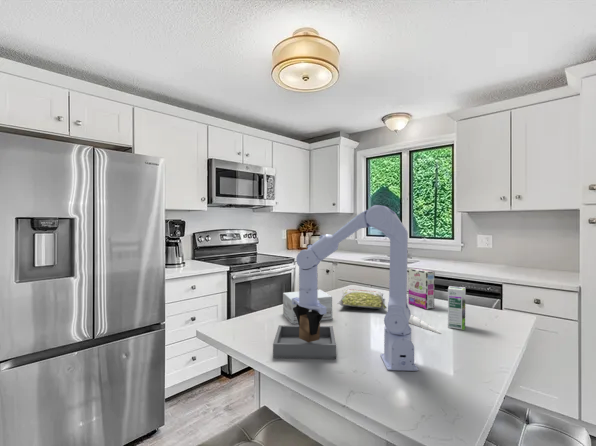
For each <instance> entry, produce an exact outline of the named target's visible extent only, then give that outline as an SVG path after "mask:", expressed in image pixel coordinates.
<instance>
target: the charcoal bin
mask: <svg viewBox="0 0 596 446" xmlns="http://www.w3.org/2000/svg"><path fill="white" fill-rule="evenodd" d="M333 327H334V326H333V325H320V338H319V340H316V341H312V342H306V341H304V340H302V339H300V338H299V325H285V324H284V325H281V324H280V325H278V327H277V331H276V334H275V337H274V340H273V343H272V358H273V359H306V360H308V359H311V360H313V359H314V360H315V359H316V360H318V359H319V360H336V359H337V344H336V343H337V342H336V337H335V332H334V331H335V330H334V328H333Z"/></svg>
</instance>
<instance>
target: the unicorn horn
mask: <svg viewBox="0 0 596 446" xmlns="http://www.w3.org/2000/svg"><path fill="white" fill-rule="evenodd" d="M409 324H411V325H413V326H416V327H419V328H421V329H425V330H427V331H431V332H434V333H437V334H442V333H441V331H440V330H438V329H436V327H434V326H431V324H430V325H429V323H427V322H426V321H424V320H422V319H420V318H419V317H417V316H415V315H413V314H412V313H411V316H410V319H409Z"/></svg>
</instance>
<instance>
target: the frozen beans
mask: <svg viewBox="0 0 596 446" xmlns="http://www.w3.org/2000/svg"><path fill="white" fill-rule="evenodd" d="M383 297H384V293H383V292H380V291H377V290H363V289H349V288H348V289H343V290H342V296H341V299H340V301H338V302H337V304H336V305H340V306H343V307H354V308H365V309H377V310H384V309H385V310H386V309H388V306H386V305H385V303H384V300H383Z"/></svg>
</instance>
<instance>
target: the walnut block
mask: <svg viewBox="0 0 596 446" xmlns="http://www.w3.org/2000/svg"><path fill="white" fill-rule="evenodd" d="M298 326H299V338H300V339H302V340H304V341H306V342H312V341H316V340H319V338H320V326H321V322H320V323H319V327H318V331H317V334H315V335H310V328H309V320H308V317H307V314H305V315H300V325H299V324H298Z"/></svg>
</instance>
